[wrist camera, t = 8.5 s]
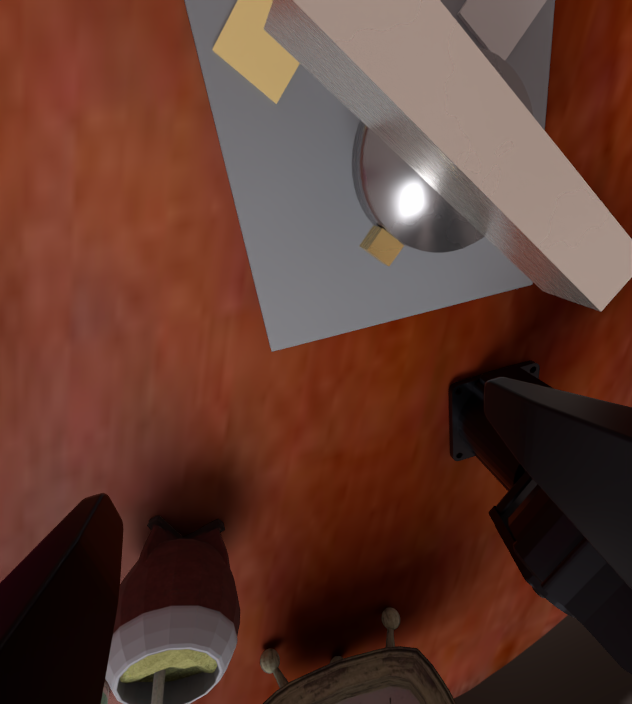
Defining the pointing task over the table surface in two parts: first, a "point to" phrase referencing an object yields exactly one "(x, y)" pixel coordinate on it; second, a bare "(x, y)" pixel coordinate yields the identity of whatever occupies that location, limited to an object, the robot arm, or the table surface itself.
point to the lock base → (337, 174)
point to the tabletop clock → (364, 677)
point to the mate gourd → (174, 618)
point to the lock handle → (453, 145)
